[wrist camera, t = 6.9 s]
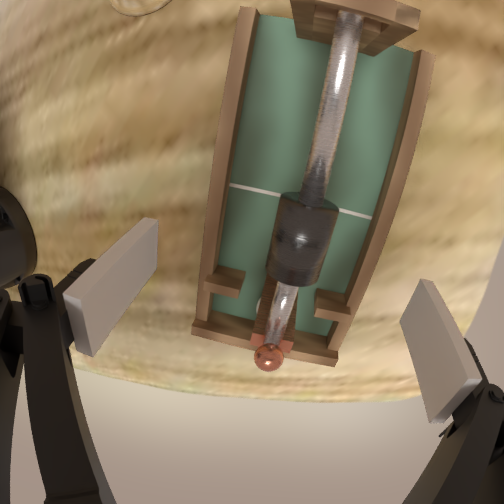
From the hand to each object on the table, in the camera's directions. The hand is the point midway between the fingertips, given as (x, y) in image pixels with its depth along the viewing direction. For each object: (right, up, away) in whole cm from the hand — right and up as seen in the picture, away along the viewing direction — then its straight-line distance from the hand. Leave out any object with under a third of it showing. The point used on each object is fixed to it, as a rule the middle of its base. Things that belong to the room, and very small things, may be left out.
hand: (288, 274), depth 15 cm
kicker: (+3, +9, +9) cm, 13 cm away
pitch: (+3, +6, +13) cm, 14 cm away
